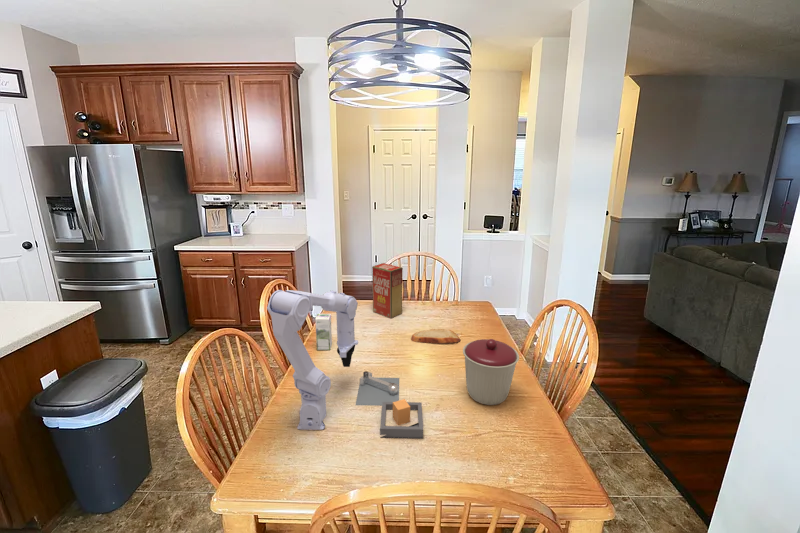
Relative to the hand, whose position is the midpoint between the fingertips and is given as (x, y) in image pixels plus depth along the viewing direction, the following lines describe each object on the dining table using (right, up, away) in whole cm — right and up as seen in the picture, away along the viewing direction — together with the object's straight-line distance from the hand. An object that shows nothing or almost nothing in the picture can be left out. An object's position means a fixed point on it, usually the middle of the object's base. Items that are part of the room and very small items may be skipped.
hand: (346, 365), depth 130 cm
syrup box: (-14, -1, +32) cm, 35 cm away
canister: (+48, -10, 0) cm, 49 cm away
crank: (+11, -8, +2) cm, 14 cm away
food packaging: (+12, +10, +68) cm, 70 cm away
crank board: (+11, -10, +1) cm, 15 cm away
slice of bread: (+34, +1, +40) cm, 53 cm away
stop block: (+19, -13, -14) cm, 27 cm away
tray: (+19, -14, -14) cm, 27 cm away
